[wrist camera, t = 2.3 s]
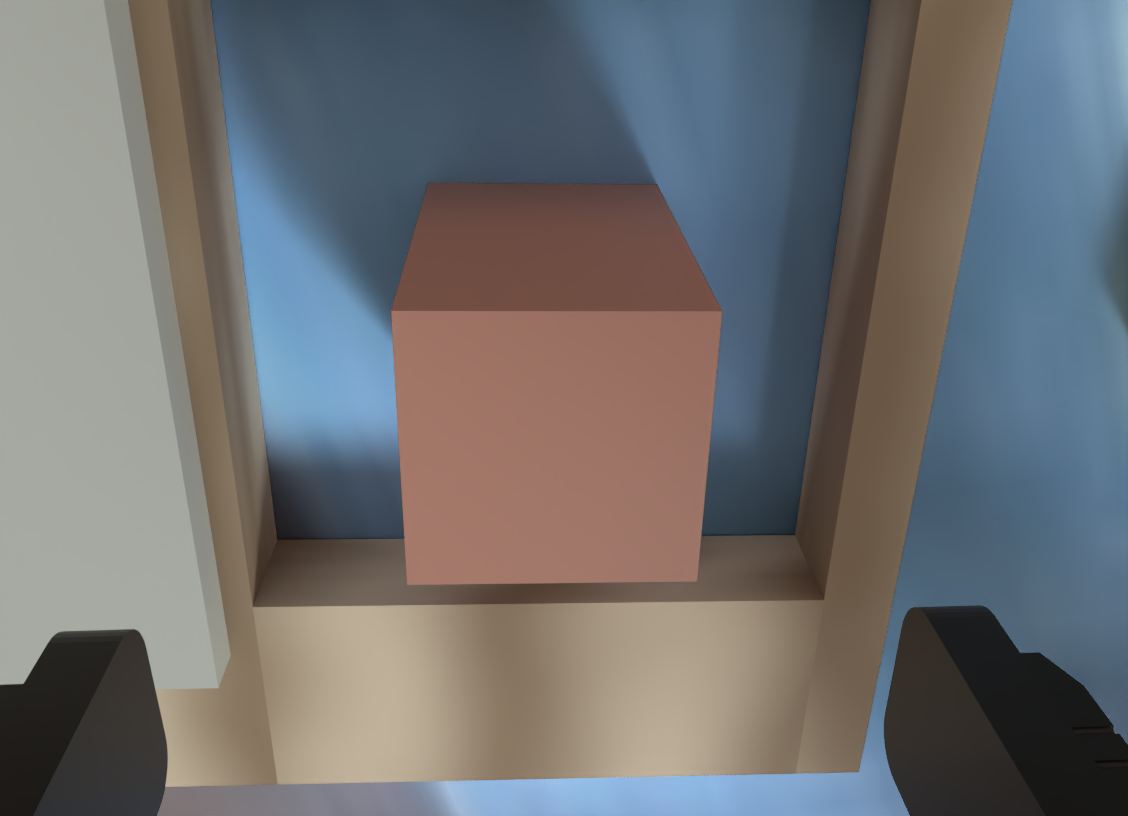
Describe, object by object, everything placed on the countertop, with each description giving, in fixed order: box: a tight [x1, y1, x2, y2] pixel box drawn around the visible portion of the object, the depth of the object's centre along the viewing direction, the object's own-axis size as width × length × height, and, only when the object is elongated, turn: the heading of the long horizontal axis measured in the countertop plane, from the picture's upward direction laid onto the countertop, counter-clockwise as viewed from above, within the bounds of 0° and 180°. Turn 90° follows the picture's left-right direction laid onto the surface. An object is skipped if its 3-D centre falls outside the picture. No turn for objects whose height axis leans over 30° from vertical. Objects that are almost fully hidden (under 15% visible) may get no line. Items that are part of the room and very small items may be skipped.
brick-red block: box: [391, 183, 722, 585], centre depth 18 cm, size 4×4×7 cm
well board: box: [128, 0, 1013, 787], centre depth 20 cm, size 26×22×2 cm
